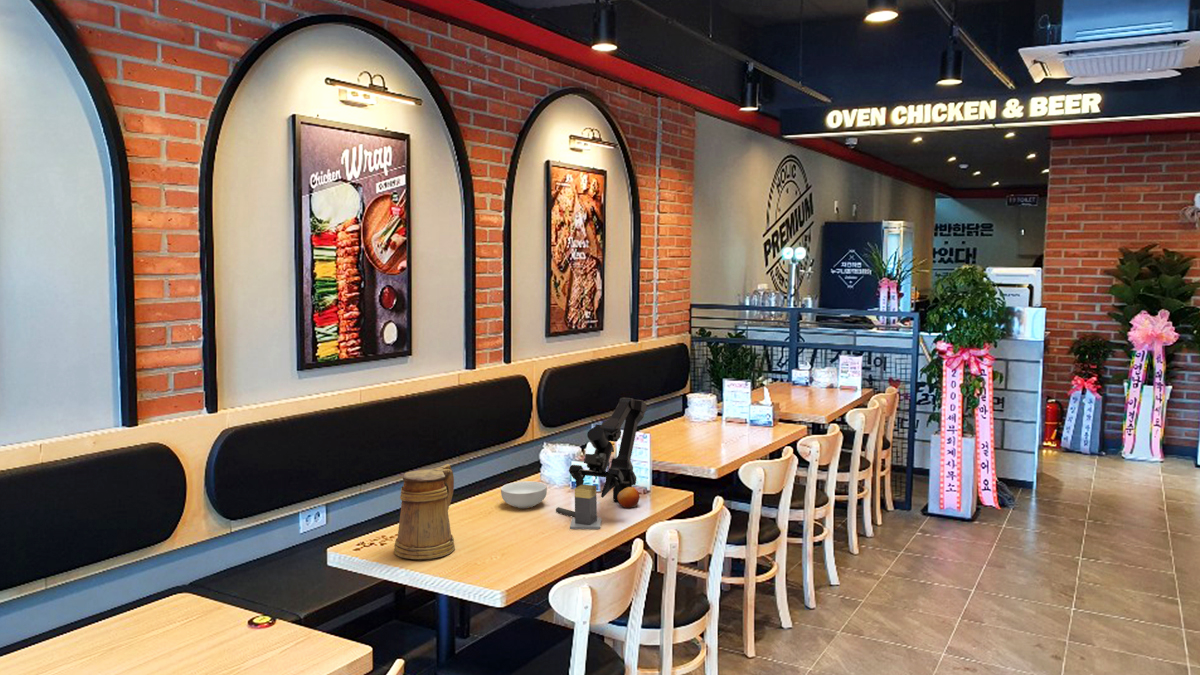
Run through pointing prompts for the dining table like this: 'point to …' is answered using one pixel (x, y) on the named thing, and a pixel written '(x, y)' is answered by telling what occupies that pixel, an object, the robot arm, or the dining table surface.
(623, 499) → the fruit
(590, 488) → the block
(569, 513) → the dark notched bar
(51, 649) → the dining table surface
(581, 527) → the coaster
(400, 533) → the tankard
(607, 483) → the robot arm
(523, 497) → the cereal bowl
